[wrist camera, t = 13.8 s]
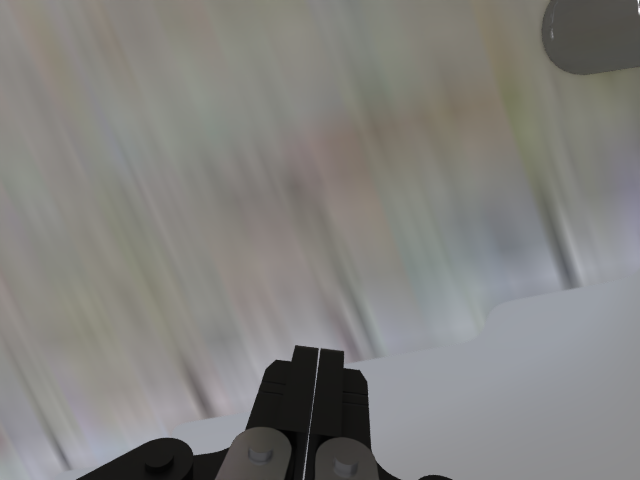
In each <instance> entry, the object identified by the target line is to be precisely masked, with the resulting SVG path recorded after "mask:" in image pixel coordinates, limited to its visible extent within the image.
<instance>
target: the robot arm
mask: <svg viewBox="0 0 640 480" xmlns="http://www.w3.org/2000/svg"><path fill="white" fill-rule="evenodd" d="M542 41H543V44H544V48H545V51H546V53H547V54H548V56H549V58H550V59H551V60H552V62H553V63H554V64H555V65H556V66H558V67H559V68H561V69H562V70H564V71H566V72H569V73H572V74H579V75H588V74H595V73H601V72H608V71H615V70H621V69H627V68H634V67H640V0H551V1H550V3H549V5H548V7H547V9H546V12H545V15H544V18H543V24H542ZM318 350H319V348H314V347H306V346H298V345H295V349H294V353H293V357H292V361H291V362H290V361H282V360H275V361H274V362H273V363H272V364H271V365H270V366H269V367H267V368H266V370H265V373H264V376H263V379H262V383H261V385H260V388H259V391H258V394H257V397H256V399H255V402H254V405H253V408H252V411H251V414H250V417H249V420H248V423H247V426H246V429H245V431H244V432H242V433H240V434H239V435H238V436H237V437H236V438H235V439H234V441H233V442H232V444H231V446H230V447H229V448H227V449H224V450H222V451H219V452H214V453H209V454H201V455H194V456H193V452H192V450H191V448H190V447H189V445H187V444H186V443H185V442H183V441H181V440H179V439H175V438H160V439H155V440H152V441H149V442H147V443H145V444H143V445H141V446H139V447H137V448H135V449H133V450H131V451H130V452H128V453H126V454H124V455H122V456H120V457H118V458H116V459H114V460H112V461H111V462H109V463H107V464H105V465H103V466H101V467H99V468H97V469H95V470H94V471H92V472H90V473H88V474H86V475H84V476H82V477H80V478H78V479H77V480H302V479H303V471H304V465H305V457H306V450H307V442H308V435H309V443H308V452H307V461H306V471H305V479H304V480H401V479H398V478H396V477H394V476H392V475H391V474H389V473H388V472H386V471H385V470H384V469H383V468H382V467H381V466H380V465H379V464H378V463H377V461H376V460H375V457H374V455H373V454H372V450H371V439H370V421H369V407H368V406H369V404H368V385H367V381H366V379H365V378H364V376H363V375H362V373H361V371H360V370H354V369H346V368H343V367H344V351H338V350H330V349H322V348H321V350H320V358H319V365H318V373H317V380H316V388H315V378H316V369H317V360H318ZM314 388H315V395H314ZM313 397H314V403H313ZM312 405H313V410H312ZM311 413H312V418H311ZM310 420H311V426H310ZM309 428H310V434H309ZM419 480H452V479H450V478H447V477H444V476H440V475H428V476H424V477H422V478H420V479H419Z"/></svg>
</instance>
